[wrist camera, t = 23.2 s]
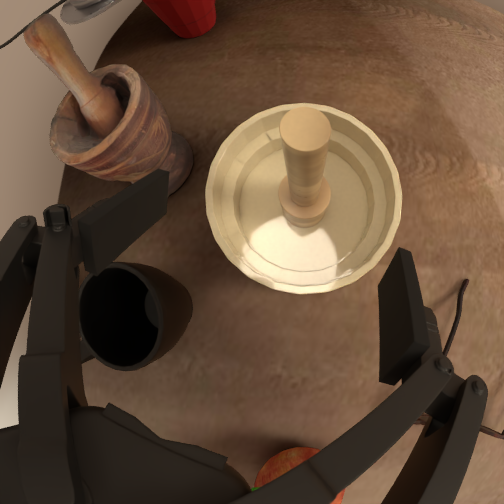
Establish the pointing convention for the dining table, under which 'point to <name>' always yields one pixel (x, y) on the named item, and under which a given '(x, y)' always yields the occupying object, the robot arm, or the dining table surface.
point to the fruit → (287, 467)
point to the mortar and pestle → (107, 116)
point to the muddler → (304, 166)
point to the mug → (131, 315)
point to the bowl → (272, 217)
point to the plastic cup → (185, 15)
